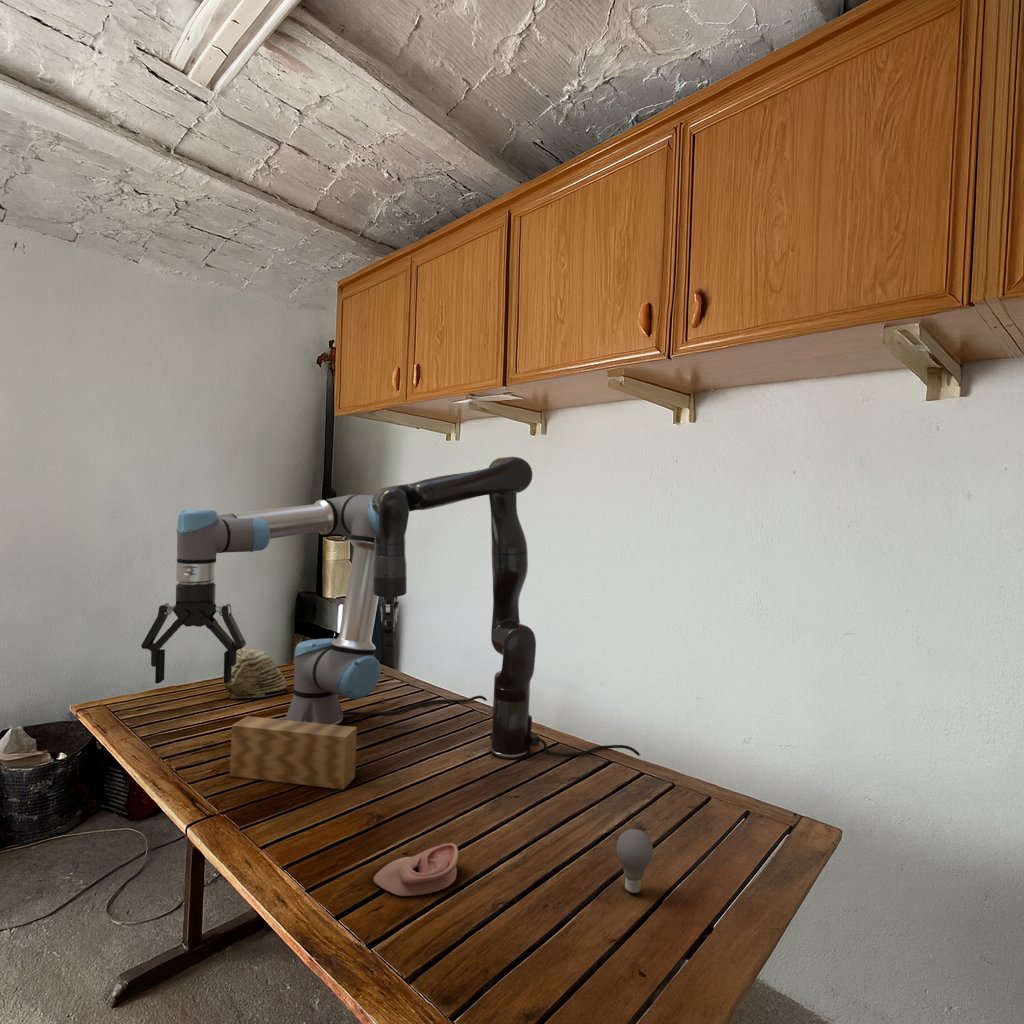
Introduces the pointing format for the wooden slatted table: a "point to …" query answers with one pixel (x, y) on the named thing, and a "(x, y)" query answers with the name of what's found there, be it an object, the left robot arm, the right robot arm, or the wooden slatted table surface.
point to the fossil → (254, 675)
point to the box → (293, 752)
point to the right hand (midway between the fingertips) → (389, 643)
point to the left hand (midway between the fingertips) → (193, 681)
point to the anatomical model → (420, 872)
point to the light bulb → (634, 857)
